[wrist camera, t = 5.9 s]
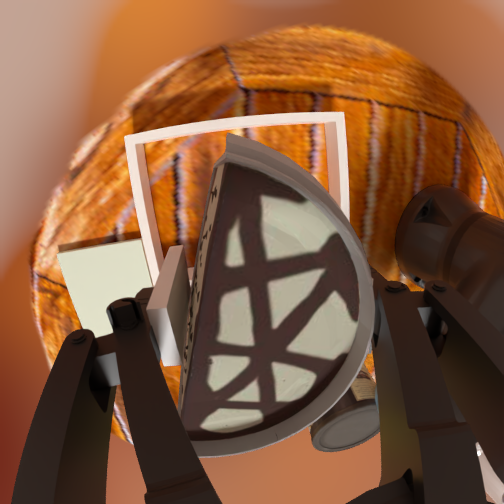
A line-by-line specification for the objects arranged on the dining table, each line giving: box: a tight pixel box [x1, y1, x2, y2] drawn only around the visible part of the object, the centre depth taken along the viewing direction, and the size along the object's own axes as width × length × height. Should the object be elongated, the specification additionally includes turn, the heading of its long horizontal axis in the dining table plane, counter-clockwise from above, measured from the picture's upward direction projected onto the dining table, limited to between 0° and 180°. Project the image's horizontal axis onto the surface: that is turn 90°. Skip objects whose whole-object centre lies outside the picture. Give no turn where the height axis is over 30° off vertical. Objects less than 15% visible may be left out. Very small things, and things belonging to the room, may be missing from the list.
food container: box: [178, 133, 375, 458], centre depth 13 cm, size 12×6×10 cm, turn 167°
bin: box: [124, 112, 350, 286], centre depth 31 cm, size 22×17×4 cm
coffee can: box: [308, 363, 380, 452], centre depth 36 cm, size 10×10×14 cm
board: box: [57, 238, 154, 338], centre depth 35 cm, size 12×16×1 cm
